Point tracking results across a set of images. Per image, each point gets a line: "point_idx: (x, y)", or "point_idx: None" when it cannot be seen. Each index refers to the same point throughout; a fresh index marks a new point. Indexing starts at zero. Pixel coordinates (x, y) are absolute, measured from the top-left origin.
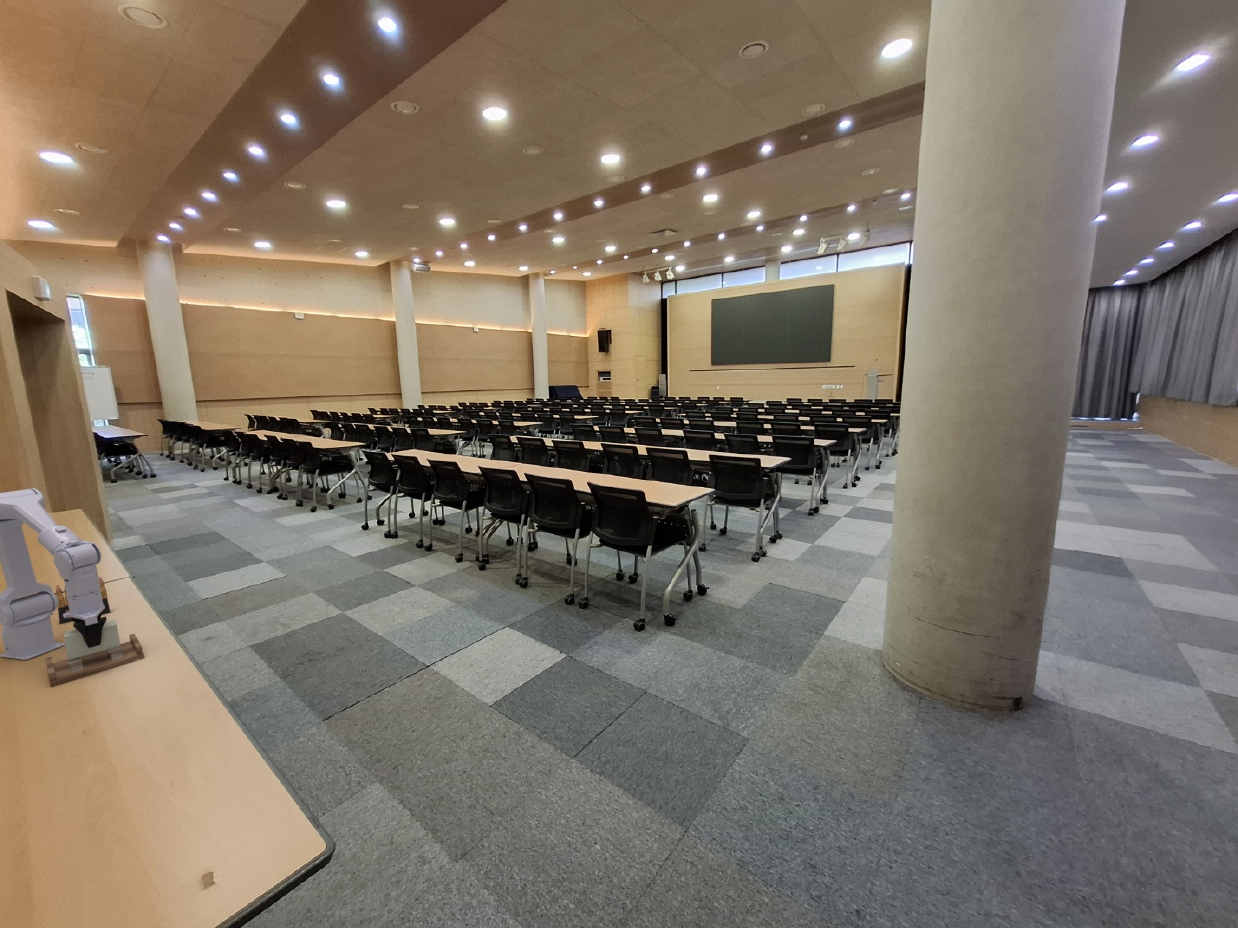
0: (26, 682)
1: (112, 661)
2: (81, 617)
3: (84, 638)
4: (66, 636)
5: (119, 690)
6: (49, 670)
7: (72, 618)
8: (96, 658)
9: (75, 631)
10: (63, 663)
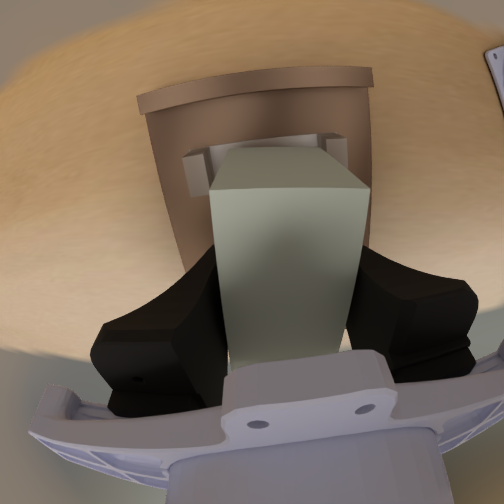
0: (277, 18)
1: None
2: (68, 435)
3: (182, 277)
4: (212, 206)
5: (36, 265)
6: (177, 89)
7: (418, 310)
8: None
9: (298, 253)
10: (333, 117)
